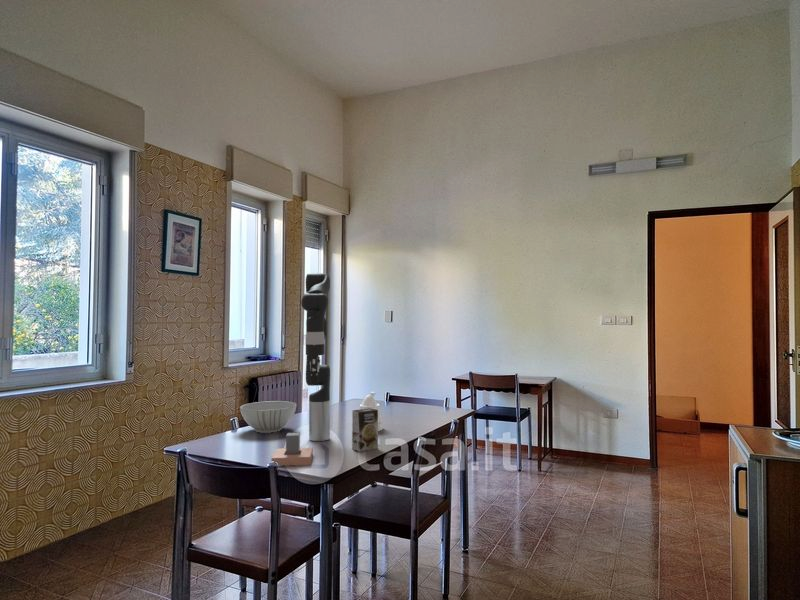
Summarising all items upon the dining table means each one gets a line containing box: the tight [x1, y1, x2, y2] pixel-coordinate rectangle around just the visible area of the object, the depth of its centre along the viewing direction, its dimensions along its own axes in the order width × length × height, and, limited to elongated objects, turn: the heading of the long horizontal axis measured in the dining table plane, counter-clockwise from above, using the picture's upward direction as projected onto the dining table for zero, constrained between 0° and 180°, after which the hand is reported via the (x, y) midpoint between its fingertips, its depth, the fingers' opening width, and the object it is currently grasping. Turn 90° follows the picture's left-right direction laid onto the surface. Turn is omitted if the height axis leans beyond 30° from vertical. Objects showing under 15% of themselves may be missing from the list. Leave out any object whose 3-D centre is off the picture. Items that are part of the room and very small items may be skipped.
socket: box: [270, 447, 314, 467], centre depth 197 cm, size 14×14×3 cm
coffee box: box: [351, 408, 379, 452], centre depth 213 cm, size 9×6×16 cm
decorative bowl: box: [239, 400, 297, 434], centre depth 251 cm, size 27×27×12 cm
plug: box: [285, 432, 301, 455], centre depth 197 cm, size 5×5×10 cm
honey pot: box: [359, 391, 384, 432], centre depth 252 cm, size 13×13×18 cm
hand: (315, 383), depth 206 cm, fingers open, 8 cm apart
